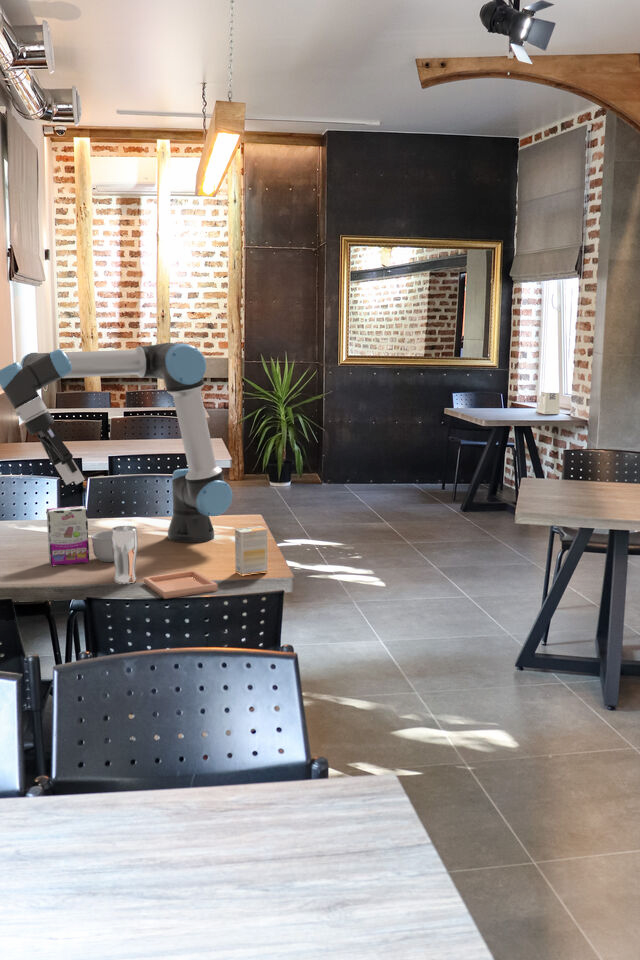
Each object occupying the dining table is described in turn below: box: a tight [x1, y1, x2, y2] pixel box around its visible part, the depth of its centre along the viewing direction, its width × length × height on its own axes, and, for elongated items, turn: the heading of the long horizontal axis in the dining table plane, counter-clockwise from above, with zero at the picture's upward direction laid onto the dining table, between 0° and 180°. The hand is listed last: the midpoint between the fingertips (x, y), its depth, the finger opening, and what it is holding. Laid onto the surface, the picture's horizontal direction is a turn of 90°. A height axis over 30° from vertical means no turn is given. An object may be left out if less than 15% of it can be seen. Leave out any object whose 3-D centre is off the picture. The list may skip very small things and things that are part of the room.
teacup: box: [91, 529, 114, 563], centre depth 270 cm, size 14×11×8 cm
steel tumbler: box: [111, 525, 139, 585], centre depth 246 cm, size 7×7×15 cm
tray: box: [143, 569, 218, 600], centre depth 243 cm, size 15×15×2 cm
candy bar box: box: [46, 505, 90, 567], centre depth 263 cm, size 11×5×16 cm, turn 114°
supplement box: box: [234, 525, 268, 575], centre depth 256 cm, size 8×5×13 cm, turn 117°
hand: (75, 482), depth 254 cm, fingers open, 13 cm apart
